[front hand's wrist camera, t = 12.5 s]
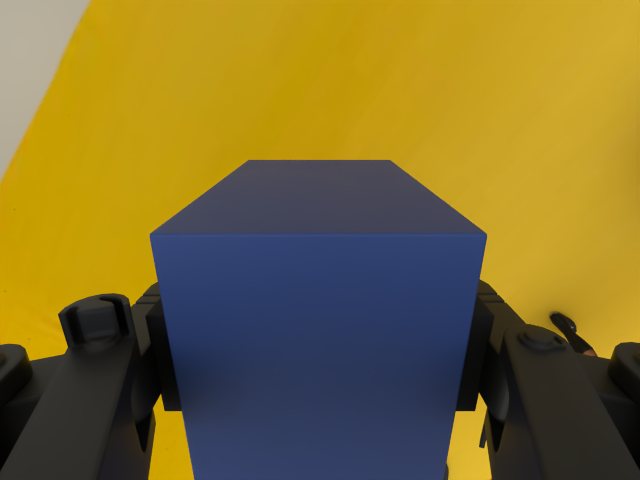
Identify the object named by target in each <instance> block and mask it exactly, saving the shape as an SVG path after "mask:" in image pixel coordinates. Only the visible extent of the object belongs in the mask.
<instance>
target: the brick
mask: <svg viewBox="0 0 640 480" xmlns="http://www.w3.org/2000/svg"><path fill="white" fill-rule="evenodd" d="M486 240H487V234H486V233H485V232H484V231H482V230H481V229H480V228H479V227H477V226H476V225H475V224H473V223H472V222H471V221H469V220H468V219H467V218H465V217H464V216H463V215H461V214H460V213H459V212H458V211H456V210H455V209H454V208H452V207H451V206H450V205H448V204H447V203H446V202H444V201H443V200H442V199H440V198H439V197H438V196H437V195H435V194H434V193H433V192H431V191H430V190H429V189H427V188H426V187H425V186H423V185H422V184H421V183H419V182H418V181H417V180H415V179H414V178H413V177H412V176H410V175H409V174H408V173H406V172H405V171H404V170H402V169H401V168H400V167H398V166H397V165H396V164H394V163H393V162H392V161H390V160H248V161H247V162H245V163H244V164H243V165H241V166H240V167H239V168H237V169H236V170H235V171H233V172H232V173H231V174H229V175H228V176H227V177H225V178H224V179H223V180H221V181H220V182H219V183H217V184H216V185H215V186H213V187H212V188H211V189H209V190H208V191H207V192H205V193H204V194H203V195H201V196H200V197H199V198H197V199H196V200H195V201H193V202H192V203H191V204H189V205H188V206H187V207H185V208H184V209H183V210H181V211H180V212H178V213H177V214H176V215H174V216H173V217H172V218H170V219H169V220H168V221H166V222H165V223H164V224H162V225H161V226H160V227H158V228H157V229H156V230H154V231H153V232H152V233H150V241H151V246H152V252H153V257H154V263H155V268H156V273H157V279H158V284H159V290H160V295H161V301H162V306H163V311H164V317H165V322H166V328H167V333H168V339H169V344H170V349H171V355H172V360H173V366H174V371H175V377H176V382H177V387H178V393H179V398H180V404H181V409H182V415H183V420H184V425H185V431H186V436H187V442H188V447H189V453H190V458H191V463H192V469H193V474H194V480H443V478H444V472H445V467H446V461H447V456H448V450H449V445H450V439H451V433H452V428H453V422H454V417H455V411H456V406H457V400H458V395H459V389H460V384H461V378H462V373H463V367H464V361H465V356H466V350H467V345H468V339H469V334H470V328H471V323H472V317H473V312H474V306H475V301H476V295H477V289H478V284H479V278H480V273H481V267H482V262H483V256H484V251H485V245H486Z"/></svg>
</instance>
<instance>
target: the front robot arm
mask: <svg viewBox="0 0 640 480" xmlns="http://www.w3.org/2000/svg"><path fill="white" fill-rule="evenodd" d="M58 316H59V319H60V322H61V326H62V329H63V332H64V335H65V339H66V342H67V345H68V349H67V350H66V352H65V354H63V355H58V356H53V357H48V358H43V359H38V360H32V361H29V358H28V355H27V352H26V350H25V348H24V347H22V346H21V345H17V344H4V345H0V480H148V476H149V469H150V462H151V454H152V447H153V440H154V433H155V425H156V422H155V415H154V411H153V407H154V405H155V403H156V401H157V400H158V398H159V396H160V394H161V395H162V400H163V405H164V410H165V411H182V409H181V404H180V398H179V393H178V387H177V382H176V377H175V371H174V366H173V360H172V355H171V349H170V344H169V339H168V333H167V328H166V322H165V317H164V311H163V306H162V301H161V295H160V290H159V284H158V282H157V283H155V284H153V285H151V286H150V288H149V289H148V290H147V291H146V292H145V293H144V294H143V296H141V297H140V298H139V299H138V300H137V301H136V304H133V306H132V307H130V303H129V299H128V298H127V297H126V296H124V295H121V294H115V293H112V294H100V295H95V296H90V297H87V298H84V299H81V300H79V301H76V302H74V303H72V304H71V305H69V306H67V307H65V308H64V309H63V310H62V311H61V312H60V313H59V314H58ZM479 393H480V395H481V396H482V398H483V400H484V402H485V404H486V405H487V411H486V415H485V420H484V424H483V429H482V433H481V438H480V444H479V447H481V448H484V447H485V442H486V440H487V446H488V453H489V461H490V468H491V475H492V479H490V480H640V343H635V342H626V343H620V344H619V345H617V346H616V347H615V349H614V351H613V354H612V357H611V359H606V358H601V357H595V356H590V355H585V354H580V353H576V352H574V350H573V348H572V346H571V345H570V344H569V343H568V342H567V341H566V340H565V339H564V338H562V337H561V336H559V335H558V334H556V333H555V332H552V331H550V330H548V329H545V328H543V327H539V326H535V325H531V324H526V323H525V322H524V321H523V320H522V319H521V318H520V317H519V316H518V315H517V314H516V313H515V312H514V311H513V309H512V308H511V307H510V306H509V305H508V304H507V303H504V300H503V299H502V298H501V297H500V296H499V295H497V293H496V292H495V290H494V289H493V288H492V287H491V286H490V285H489V284H487V283H485V282H484V281H482V280H480V279H479V284H478V289H477V295H476V301H475V306H474V312H473V317H472V323H471V328H470V334H469V339H468V345H467V350H466V356H465V361H464V367H463V373H462V378H461V384H460V389H459V395H458V400H457V406H456V411H475V409H476V404H477V399H478V394H479ZM448 473H449V471H448V466H447V464H446V467H445V472H444V478H443V480H448Z"/></svg>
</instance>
